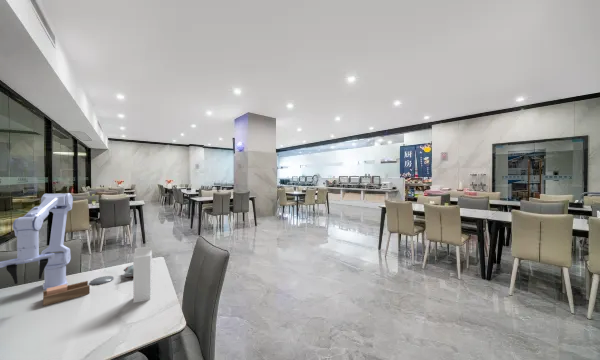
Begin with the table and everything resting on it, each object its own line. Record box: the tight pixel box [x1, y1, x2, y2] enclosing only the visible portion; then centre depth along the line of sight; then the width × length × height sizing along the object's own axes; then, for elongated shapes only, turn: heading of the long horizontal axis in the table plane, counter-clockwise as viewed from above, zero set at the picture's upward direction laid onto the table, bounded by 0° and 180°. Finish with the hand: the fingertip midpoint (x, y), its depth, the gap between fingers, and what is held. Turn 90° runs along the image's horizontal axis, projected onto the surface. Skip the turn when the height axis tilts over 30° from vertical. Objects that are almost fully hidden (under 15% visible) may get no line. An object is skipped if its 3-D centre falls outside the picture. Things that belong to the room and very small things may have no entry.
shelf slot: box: [42, 280, 90, 307], centre depth 103 cm, size 8×14×4 cm, turn 137°
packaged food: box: [122, 264, 133, 278], centre depth 126 cm, size 9×12×5 cm
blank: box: [46, 284, 68, 295], centre depth 101 cm, size 4×6×5 cm, turn 137°
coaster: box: [89, 275, 115, 286], centre depth 119 cm, size 9×9×1 cm
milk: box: [132, 246, 153, 304], centre depth 102 cm, size 6×6×22 cm
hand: (28, 280), depth 95 cm, fingers open, 6 cm apart
